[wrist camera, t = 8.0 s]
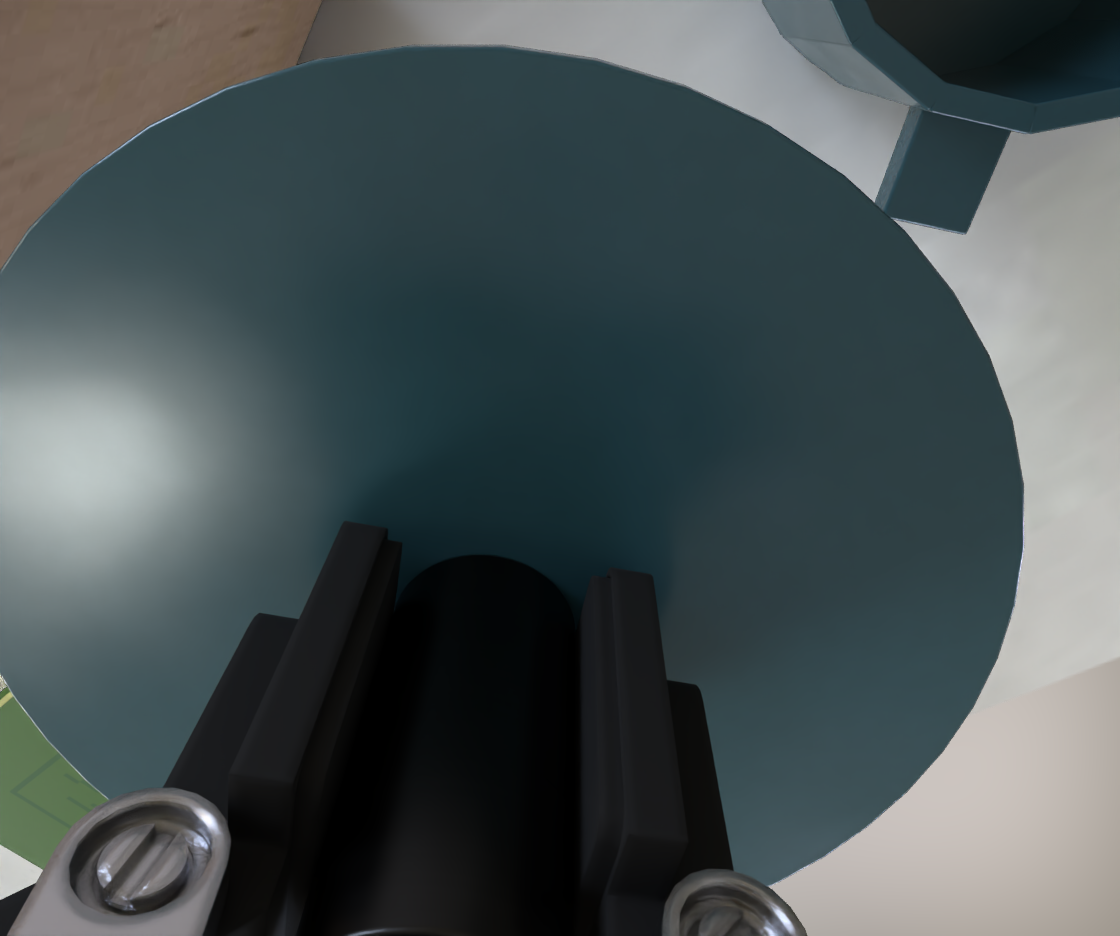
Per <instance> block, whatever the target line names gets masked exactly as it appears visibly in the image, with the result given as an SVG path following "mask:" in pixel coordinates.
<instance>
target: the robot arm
mask: <svg viewBox="0 0 1120 936" xmlns="http://www.w3.org/2000/svg"><path fill="white" fill-rule="evenodd" d="M401 554H402V542H398V541H392V540H388V528H384V527H378V526H372V525H367V524H361V523H355V522H350V521H344V522H343V524H342V525H341V527H340V530H339V532H338V534H337V536H336V538H335V541H334V543H333V545H332V547H331V549H330V552H329V554H328V556H327V558H326V560H325V563H324V565H323V567H322V569H321V571H320V574H319V576H318V578H317V580H316V582H315V585H314V587H313V589H312V591H311V593H310V596H309V598H308V600H307V602H306V604H305V607H304V609H303V611H302V613H301V615H300V618H299V619H295V618H289V617H283V616H277V615H271V614H264V613H259V614H257V615H256V616H255V617H254V618H253V620H252V621H251V623H250V624H249V626H248V628H247V630H246V632H245V634H244V636H243V638H242V639H241V641H240V643H239V645H238V647H237V649H236V651H235V653H234V654H233V656H232V658H231V660H230V662H229V664H228V666H227V668H226V670H225V671H224V673H223V675H222V677H221V679H220V681H219V683H218V685H217V686H216V688H215V690H214V692H213V694H212V696H211V698H210V700H209V702H208V703H207V705H206V707H205V709H204V711H203V713H202V715H201V717H200V719H199V720H198V722H197V724H196V726H195V728H194V730H193V732H192V734H191V735H190V737H189V739H188V741H187V743H186V745H185V747H184V749H183V751H182V752H181V754H180V756H179V758H178V760H177V762H176V764H175V766H174V768H173V769H172V771H171V773H170V775H169V777H168V779H167V781H166V783H165V784H164V786H163V788H146V789H142V790H138V791H134V792H129V793H125V794H121V795H119V796H117V797H115V798H113V799H111V800H109V801H107V802H105V803H103V804H101V805H99V806H97V807H95V808H94V809H92V810H91V811H90V812H89V813H87V814H86V815H85V816H84V817H82V818H81V819H80V820H78V821H77V822H76V823H75V824H73V826H72V827H71V828H70V830H69V831H68V832H67V834H66V835H65V836H64V837H63V839H62V840H61V841H60V843H59V844H58V845H57V847H56V849H55V850H54V852H53V854H52V856H51V857H50V859H49V861H48V863H47V865H46V866H45V868H44V870H43V872H42V873H41V875H40V877H39V879H38V881H37V882H36V883H35V884H33V885H31V886H29V887H27V888H24V889H22V890H20V891H18V892H16V893H14V894H12V895H10V896H8V897H6V898H4V899H2V900H0V936H296V933H297V929H298V926H299V923H300V919H301V916H302V913H303V910H304V906H305V903H306V900H307V896H308V893H309V890H310V886H311V884H312V882H313V878H314V875H315V872H316V869H317V865H318V862H319V859H320V855H321V852H322V849H323V845H324V842H325V839H326V835H327V832H328V829H329V826H330V822H331V819H332V816H333V812H334V809H335V806H336V802H337V799H338V796H339V792H340V789H341V786H342V783H343V779H344V776H345V773H346V769H347V766H348V763H349V759H350V756H351V753H352V749H353V746H354V743H355V739H356V736H357V733H358V730H359V726H360V723H361V720H362V716H363V713H364V710H365V706H366V703H367V700H368V696H369V693H370V690H371V687H372V683H373V680H374V677H375V673H376V670H377V667H378V663H379V660H380V657H381V653H382V650H383V647H384V644H385V640H386V637H387V634H388V630H389V627H390V624H391V620H392V617H393V614H394V607H395V599H396V592H397V584H398V577H399V569H400V561H401ZM574 936H807V933H806V930H805V928H804V927H803V925H802V924H801V922H800V921H799V919H798V918H797V916H796V915H795V913H794V912H793V910H792V909H791V907H790V906H789V905H788V904H786V902H785V901H783V900H782V899H781V898H780V897H779V896H778V895H777V894H776V893H775V892H774V891H773V890H772V889H770V888H769V887H767V886H765V885H764V884H762V883H761V882H759V881H757V880H756V879H754V878H753V877H750V876H747V875H744V874H741V873H738V872H735V871H734V868H733V863H732V857H731V852H730V846H729V840H728V835H727V829H726V824H725V818H724V813H723V807H722V802H721V796H720V791H719V785H718V780H717V774H716V769H715V763H714V758H713V752H712V747H711V741H710V736H709V730H708V725H707V719H706V713H705V708H704V702H703V698H702V694H701V691H700V689H699V687H698V686H697V685H695V684H689V683H683V682H677V681H671V680H667V677H666V669H665V662H664V654H663V647H662V639H661V632H660V624H659V617H658V609H657V602H656V594H655V587H654V580H653V576H652V575H651V574H647V573H642V572H636V571H630V570H624V569H619V568H613V567H610V568H609V569H608V572H607V574H606V577H600V576H594V575H593V576H592V577H591V579H590V582H589V585H588V589H587V593H586V597H585V600H584V604H583V608H582V612H581V615H580V619H579V623H578V627H577V630H576V634H575V715H574Z"/></svg>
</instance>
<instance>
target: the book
mask: <svg viewBox="0 0 1120 936" xmlns="http://www.w3.org/2000/svg"><path fill="white" fill-rule="evenodd" d="M107 801H109V800H108V799H107V798H106V797H105V796H104V795H102V794H101V793H100V792H99V791H98V790H96V789H95V788H94V787H93V786H92V785H91V784H89V783H88V782H87V781H86V780H85V779H84V778H83V777H82V776H81V775H80V774H79V773H78V772H77V771H76V770H75V769H74V768H73V767H72V766H71V765H70V764H69V763H68V762H67V761H66V760H65V758H64V757H63V756H62V755H61V754H60V753H59V752H58V751H57V750H56V749H55V748H54V747H53V746H52V745H51V744H50V743H49V742H48V741H47V740H46V738H45V737H44V736H43V735H42V733H41V732H40V731H39V729H38V728H37V727H36V725H35V724H34V723H33V721H32V720H31V719H30V718H29V716H28V715H27V714H26V712H25V711H24V710H23V708H22V707H21V706H20V704H19V703H18V702H17V701H16V699H15V698H14V697H13V695H12V694H11V692H10V690H9V689H8V687H6V688H5V689H4V690H2V691H1V692H0V845H2V846H4V847H5V848H7V849H9V850H11V851H12V852H14V853H16V854H17V855H19V856H21V857H23V858H24V859H26V860H28V861H29V862H31V863H33V864H34V865H36V866H38V867H40V868H41V869H43V870H44V868H45V866H46V865H47V863H48V861H49V859H50V857H51V856H52V854H53V852H54V850H55V849H56V847H57V845H58V844H59V843H60V841H61V840H62V839H63V837H64V836H65V835H66V834H67V832H68V831H69V830H70V828H71V827H72V826H73V824H75V823H76V822H77V821H78V820H80V819H81V818H82V817H84V816H85V815H86V814H87V813H89V812H90V811H91V810H92V809H94V808H95V807H97V806H99V805H101V804H103V803H105V802H107Z"/></svg>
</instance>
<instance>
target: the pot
mask: <svg viewBox="0 0 1120 936" xmlns="http://www.w3.org/2000/svg"><path fill="white" fill-rule="evenodd" d="M761 1H762V3H763V5H764V6H765V8H766V10H767V12H768V13H769V15H770V17H771V19H772V20H773V22H774V23H775V25H776V27H777V29H778V31H779V33H780V34H781V35H782V36H783V38H784V39H786V40H787V41H788V42H789V43H790V44H792V45H793V46H794V47H795V48H796V49H797V50H798V51H799V52H800V53H801V54H802V55H803V56H804V57H805V58H806V59H807V60H809V61H810V62H811V63H813V64H814V65H816V66H817V67H819V68H820V69H821V70H823V71H824V72H826V73H827V74H828V75H829V76H831V77H832V78H833V79H834V80H835V81H837V82H838V83H839V84H841V85H843V86H845V87H849V88H852V89H855V90H858V91H862V92H865V93H868V94H872V95H875V96H878V97H882V98H885V99H888V100H892V101H895V102H898V103H901V104H905V105H908V106H910V109H909V112H908V114H907V117H906V120H905V122H904V125H903V128H902V130H901V133H900V136H899V138H898V141H897V144H896V146H895V149H894V152H893V155H892V157H891V160H890V163H889V165H888V168H887V171H886V173H885V176H884V179H883V181H882V184H881V187H880V189H879V192H878V195H877V197H876V200H875V204H876V205H877V206H878V207H879V208H881V209H882V210H883V211H884V212H885V213H886V214H887V215H888V216H889V217H890V218H891V219H893V220H898V221H903V222H907V223H912V224H916V225H921V226H925V227H930V228H935V229H939V230H944V231H948V232H953V233H957V234H962V235H963V234H966V233H967V232H968V229H969V227H970V225H971V222H972V220H973V218H974V215H975V213H976V211H977V209H978V206H979V204H980V202H981V199H982V197H983V195H984V192H985V190H986V188H987V185H988V183H989V181H990V178H991V176H992V174H993V172H994V169H995V167H996V165H997V162H998V160H999V158H1000V155H1001V153H1002V151H1003V148H1004V146H1005V144H1006V141H1007V139H1008V137H1009V135H1010V132H1011V131H1014V132H1018V133H1023V134H1034V133H1039V132H1044V131H1050V130H1055V129H1060V128H1065V127H1070V126H1076V125H1081V124H1086V123H1091V122H1096V121H1101V120H1107V119H1112V118H1117V117H1120V0H761Z"/></svg>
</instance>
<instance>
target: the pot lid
mask: <svg viewBox="0 0 1120 936" xmlns="http://www.w3.org/2000/svg"><path fill="white" fill-rule="evenodd" d="M344 521H350V522H355V523H361V524H367V525H372V526H378V527H384V528H388V540H392V541H398V542H402V554H401V561H400V569H399V577H398V584H397V592H396V599H395V607H394V614H393V617H392V620H391V624H390V627H389V630H388V634H387V637H386V640H385V644H384V647H383V650H382V653H381V657H380V660H379V663H378V667H377V670H376V673H375V677H374V680H373V683H372V687H371V690H370V693H369V696H368V700H367V703H366V706H365V710H364V713H363V716H362V720H361V723H360V726H359V730H358V733H357V736H356V739H355V743H354V746H353V749H352V753H351V756H350V759H349V763H348V766H347V769H346V773H345V776H344V779H343V783H342V786H341V789H340V792H339V796H338V799H337V802H336V806H335V809H334V812H333V816H332V819H331V822H330V826H329V829H328V832H327V835H326V839H325V842H324V845H323V849H322V852H321V855H320V859H319V862H318V865H317V869H316V872H315V875H314V878H313V882H312V884H311V886H310V890H309V893H308V896H307V900H306V903H305V906H304V910H303V913H302V916H301V919H300V923H299V926H298V929H297V933H296V936H574V715H575V634H576V630H577V627H578V623H579V619H580V615H581V612H582V608H583V604H584V600H585V597H586V593H587V589H588V585H589V582H590V579H591V577H592V576H593V575H594V576H600V577H606V574H607V572H608V569H609V568H610V567H613V568H619V569H624V570H630V571H636V572H642V573H647V574H651V575H652V576H653V580H654V587H655V594H656V602H657V609H658V617H659V624H660V632H661V639H662V647H663V654H664V662H665V669H666V677H667V680H671V681H677V682H683V683H689V684H695V685H697V686H698V687H699V689H700V691H701V694H702V698H703V702H704V708H705V713H706V719H707V725H708V730H709V736H710V741H711V747H712V752H713V758H714V763H715V769H716V774H717V780H718V785H719V791H720V796H721V802H722V807H723V813H724V818H725V824H726V829H727V835H728V840H729V846H730V852H731V857H732V863H733V868H734V871H735V872H738V873H741V874H744V875H747V876H750V877H753V878H754V879H756V880H757V881H759V882H761V883H762V884H764V885H765V886H767V887H769V886H771V885H773V884H776V883H778V882H780V881H782V880H784V879H786V878H787V877H789V876H791V875H793V874H794V873H796V872H798V871H800V870H802V869H804V868H805V867H807V866H809V865H811V864H813V863H814V862H816V861H818V860H820V859H821V858H823V857H825V856H827V855H828V854H829V853H831V852H832V851H834V850H835V849H836V848H838V847H839V846H841V845H842V844H843V843H845V842H847V841H848V840H849V839H851V838H852V837H854V836H855V835H856V834H858V833H859V832H861V831H862V830H864V829H865V828H867V827H868V826H869V825H870V824H871V823H872V822H874V821H875V820H876V819H877V818H878V817H879V816H880V815H881V814H882V813H884V812H885V811H886V810H887V809H888V808H889V807H891V806H892V805H893V804H894V803H895V802H896V801H897V800H898V799H900V798H901V797H902V796H903V795H904V794H905V793H907V792H908V790H909V789H910V788H911V787H912V786H913V785H914V784H915V783H916V782H917V780H918V779H919V778H920V777H921V776H922V775H923V774H924V772H925V771H926V770H927V769H928V768H929V767H930V766H931V765H932V763H933V762H934V761H935V760H936V759H937V758H938V757H939V756H940V755H941V754H942V752H943V751H944V750H945V748H946V747H947V745H948V744H949V742H950V741H951V739H952V738H953V736H954V735H955V733H956V732H957V730H958V729H959V728H960V726H961V725H962V723H963V722H964V720H965V719H966V717H967V716H968V714H969V713H970V712H971V710H972V709H973V707H974V705H975V703H976V701H977V699H978V697H979V695H980V693H981V691H982V689H983V687H984V685H985V683H986V681H987V679H988V677H989V675H990V673H991V671H992V669H993V667H994V665H995V663H996V661H997V659H998V656H999V653H1000V650H1001V647H1002V644H1003V640H1004V637H1005V634H1006V631H1007V628H1008V625H1009V622H1010V619H1011V616H1012V613H1013V610H1014V607H1015V602H1016V596H1017V590H1018V583H1019V577H1020V571H1021V564H1022V558H1023V551H1024V483H1023V477H1022V471H1021V466H1020V460H1019V454H1018V449H1017V443H1016V437H1015V431H1014V426H1013V420H1012V417H1011V415H1010V412H1009V409H1008V406H1007V403H1006V401H1005V398H1004V395H1003V392H1002V389H1001V387H1000V384H999V381H998V378H997V375H996V373H995V370H994V367H993V364H992V361H991V359H990V356H989V354H988V352H987V350H986V349H985V347H984V345H983V343H982V342H981V340H980V338H979V336H978V334H977V333H976V331H975V329H974V327H973V325H972V324H971V322H970V320H969V318H968V316H967V315H966V313H965V311H964V309H963V307H962V306H961V304H960V302H959V300H958V299H957V297H956V295H955V293H954V292H953V290H952V289H951V288H950V287H949V285H948V284H947V283H946V282H945V280H944V279H943V278H942V277H941V275H940V274H939V273H938V272H937V270H936V269H935V268H934V267H933V265H932V264H931V263H930V261H929V260H928V259H927V258H926V256H925V255H924V254H923V253H922V251H921V250H920V249H919V248H918V246H917V245H916V244H915V243H914V241H913V240H912V239H911V238H910V236H909V235H908V234H907V233H906V231H905V230H904V229H902V228H901V227H900V226H899V225H898V224H897V223H896V222H895V221H894V220H893V219H891V218H890V217H889V216H888V215H887V214H886V213H885V212H884V211H883V210H882V209H881V208H879V207H878V206H877V205H876V204H875V203H874V202H873V201H872V200H871V199H870V198H869V197H867V196H866V195H865V194H864V193H863V192H862V191H861V190H860V189H859V188H858V187H856V186H855V185H854V184H853V183H852V182H851V181H850V180H849V179H848V178H847V177H846V176H844V175H843V174H842V173H840V172H839V171H837V170H836V169H834V168H833V167H831V166H830V165H828V164H827V163H825V162H824V161H822V160H821V159H819V158H817V157H816V156H814V155H813V154H811V153H810V152H808V151H807V150H805V149H804V148H802V147H801V146H799V145H798V144H796V143H795V142H793V141H792V140H790V139H789V138H787V137H786V136H784V135H783V134H781V133H780V132H778V131H777V130H775V129H774V128H772V127H771V126H769V125H768V124H766V123H764V122H763V121H760V120H758V119H756V118H754V117H752V116H750V115H748V114H745V113H743V112H741V111H739V110H737V109H735V108H733V107H731V106H728V105H726V104H724V103H722V102H720V101H718V100H716V99H713V98H711V97H709V96H707V95H705V94H703V93H701V92H699V91H696V90H694V89H692V88H690V87H688V86H686V85H684V84H680V83H677V82H674V81H670V80H667V79H664V78H661V77H657V76H654V75H651V74H647V73H644V72H641V71H637V70H634V69H631V68H627V67H624V66H621V65H617V64H614V63H611V62H607V61H604V60H601V59H597V58H592V57H585V56H578V55H571V54H565V53H558V52H551V51H544V50H538V49H531V48H524V47H517V46H510V45H407V46H401V47H394V48H387V49H380V50H374V51H367V52H360V53H353V54H347V55H340V56H333V57H326V58H321V59H316V60H312V61H308V62H305V63H302V64H299V65H295V66H292V67H289V68H286V69H282V70H279V71H276V72H273V73H270V74H266V75H263V76H260V77H257V78H253V79H250V80H247V81H244V82H240V83H237V84H234V85H231V86H227V87H225V88H223V89H221V90H219V91H217V92H215V93H213V94H211V95H209V96H207V97H205V98H203V99H201V100H199V101H197V102H195V103H193V104H191V105H189V106H187V107H185V108H183V109H180V110H178V111H176V112H174V113H172V114H170V115H168V116H166V117H164V118H162V119H160V120H158V121H156V122H154V123H152V124H150V125H148V126H147V127H146V128H144V129H143V130H141V131H140V132H139V133H137V134H136V135H134V136H133V137H132V138H130V139H129V140H128V141H126V142H125V143H123V144H122V145H121V146H119V147H118V148H116V149H115V150H114V151H112V152H111V153H109V154H108V155H107V156H105V157H104V158H102V159H101V160H100V161H98V162H97V163H96V164H94V165H93V166H91V167H90V168H89V169H87V170H86V171H84V172H83V173H82V174H81V175H80V176H79V177H78V178H77V179H76V180H75V181H74V182H73V183H72V184H71V185H70V186H69V187H68V188H67V189H66V190H65V191H64V192H63V193H62V194H61V195H60V196H59V197H58V198H57V199H56V200H55V202H54V203H53V204H52V205H51V206H50V207H49V208H48V209H47V210H46V211H45V212H44V213H43V214H42V215H41V216H40V217H39V218H38V219H37V220H36V221H35V222H34V223H33V224H32V225H31V226H30V227H29V228H28V230H27V231H26V233H25V234H24V236H23V237H22V239H21V240H20V241H19V243H18V244H17V246H16V247H15V249H14V250H13V252H12V253H11V255H10V256H9V258H8V259H7V261H6V262H5V263H4V265H3V266H2V268H1V269H0V675H1V677H2V678H3V680H4V682H5V683H6V685H7V687H8V689H9V690H10V692H11V694H12V695H13V697H14V698H15V699H16V701H17V702H18V703H19V704H20V706H21V707H22V708H23V710H24V711H25V712H26V714H27V715H28V716H29V718H30V719H31V720H32V721H33V723H34V724H35V725H36V727H37V728H38V729H39V731H40V732H41V733H42V735H43V736H44V737H45V738H46V740H47V741H48V742H49V743H50V744H51V745H52V746H53V747H54V748H55V749H56V750H57V751H58V752H59V753H60V754H61V755H62V756H63V757H64V758H65V760H66V761H67V762H68V763H69V764H70V765H71V766H72V767H73V768H74V769H75V770H76V771H77V772H78V773H79V774H80V775H81V776H82V777H83V778H84V779H85V780H86V781H87V782H88V783H89V784H91V785H92V786H93V787H94V788H95V789H96V790H98V791H99V792H100V793H101V794H102V795H104V796H105V797H106V798H107V799H108V800H111V799H113V798H115V797H117V796H119V795H121V794H125V793H129V792H134V791H138V790H142V789H146V788H163V786H164V784H165V783H166V781H167V779H168V777H169V775H170V773H171V771H172V769H173V768H174V766H175V764H176V762H177V760H178V758H179V756H180V754H181V752H182V751H183V749H184V747H185V745H186V743H187V741H188V739H189V737H190V735H191V734H192V732H193V730H194V728H195V726H196V724H197V722H198V720H199V719H200V717H201V715H202V713H203V711H204V709H205V707H206V705H207V703H208V702H209V700H210V698H211V696H212V694H213V692H214V690H215V688H216V686H217V685H218V683H219V681H220V679H221V677H222V675H223V673H224V671H225V670H226V668H227V666H228V664H229V662H230V660H231V658H232V656H233V654H234V653H235V651H236V649H237V647H238V645H239V643H240V641H241V639H242V638H243V636H244V634H245V632H246V630H247V628H248V626H249V624H250V623H251V621H252V620H253V618H254V617H255V616H256V615H257V614H259V613H264V614H271V615H277V616H283V617H289V618H295V619H299V618H300V615H301V613H302V611H303V609H304V607H305V604H306V602H307V600H308V598H309V596H310V593H311V591H312V589H313V587H314V585H315V582H316V580H317V578H318V576H319V574H320V571H321V569H322V567H323V565H324V563H325V560H326V558H327V556H328V554H329V552H330V549H331V547H332V545H333V543H334V541H335V538H336V536H337V534H338V532H339V530H340V527H341V525H342V524H343V522H344Z"/></svg>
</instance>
